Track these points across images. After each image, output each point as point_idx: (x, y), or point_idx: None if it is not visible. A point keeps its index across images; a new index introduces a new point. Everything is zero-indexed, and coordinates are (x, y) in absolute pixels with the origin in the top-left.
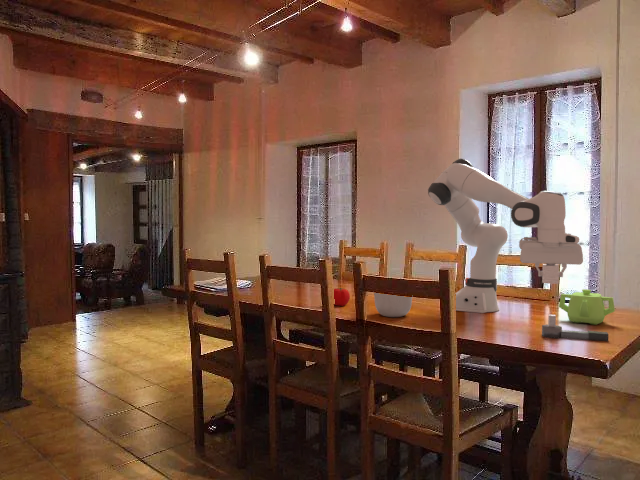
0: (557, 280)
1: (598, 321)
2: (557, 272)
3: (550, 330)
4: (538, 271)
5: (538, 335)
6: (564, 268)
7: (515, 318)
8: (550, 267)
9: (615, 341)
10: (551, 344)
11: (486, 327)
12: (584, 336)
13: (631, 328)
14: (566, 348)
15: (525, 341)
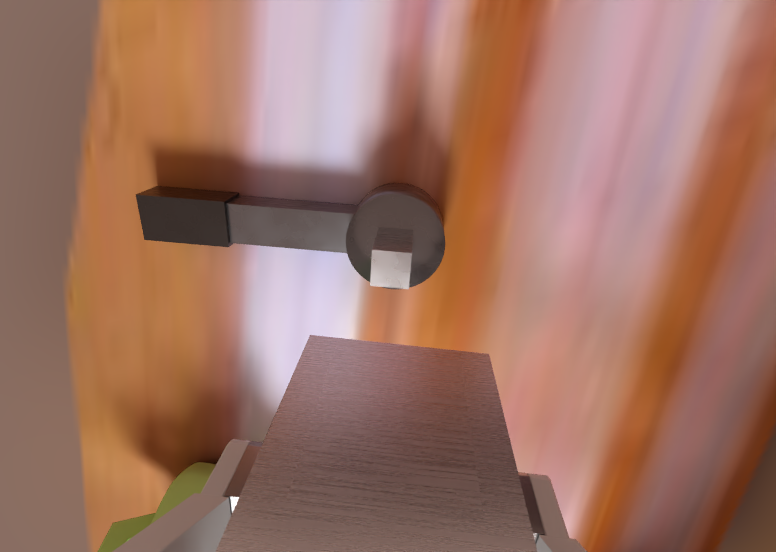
0: (312, 359)
1: (189, 467)
2: (281, 445)
3: (409, 193)
4: (568, 537)
5: (458, 232)
6: (142, 549)
7: None
8: (389, 545)
9: (129, 196)
10: (426, 27)
11: (679, 344)
12: (251, 201)
13: (88, 435)
14: None
15: (557, 64)
